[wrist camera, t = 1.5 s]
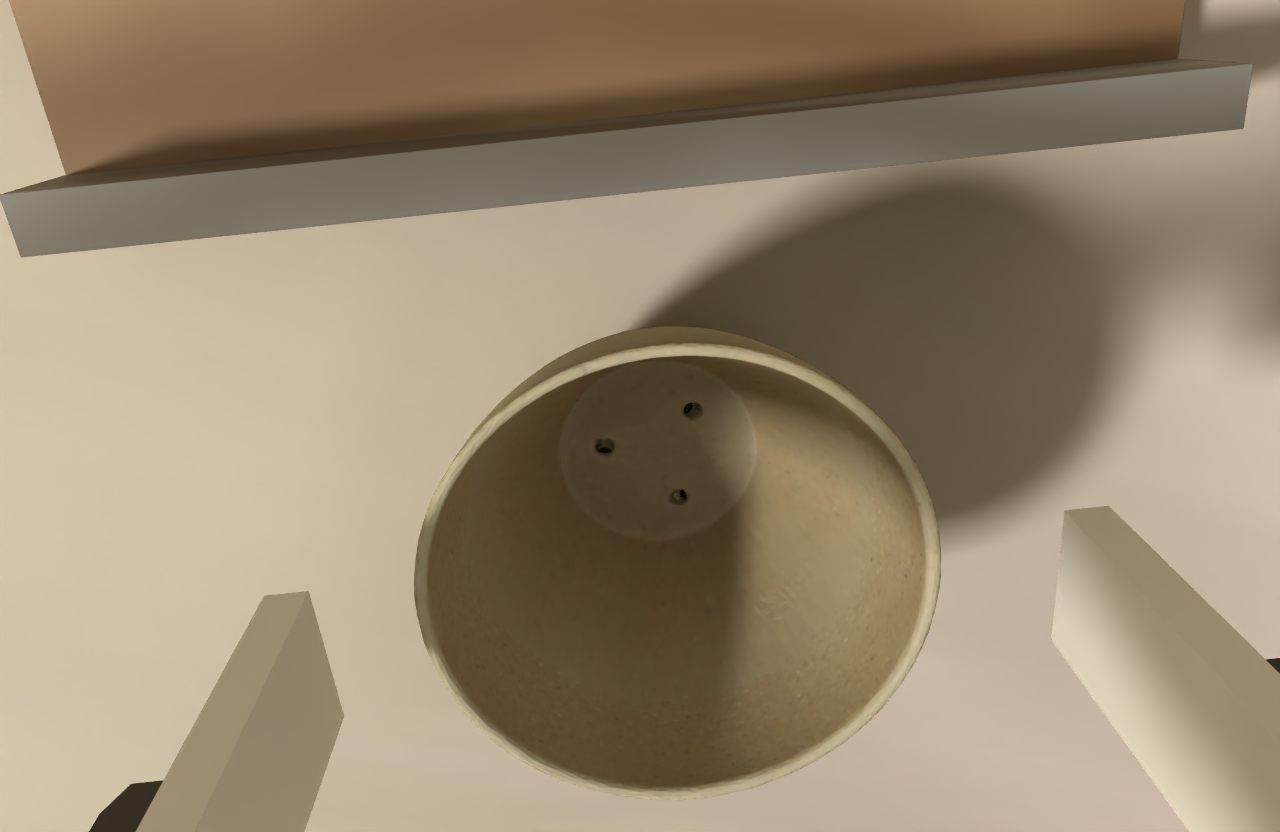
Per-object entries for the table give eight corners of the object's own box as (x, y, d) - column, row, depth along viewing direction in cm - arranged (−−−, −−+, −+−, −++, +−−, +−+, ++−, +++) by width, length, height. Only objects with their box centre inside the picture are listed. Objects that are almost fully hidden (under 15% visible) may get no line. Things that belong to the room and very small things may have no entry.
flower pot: (920, 353, 24) (1047, 481, 17) (734, 652, 27) (781, 856, 21) (558, 180, 22) (545, 250, 15) (403, 526, 25) (337, 708, 18)
